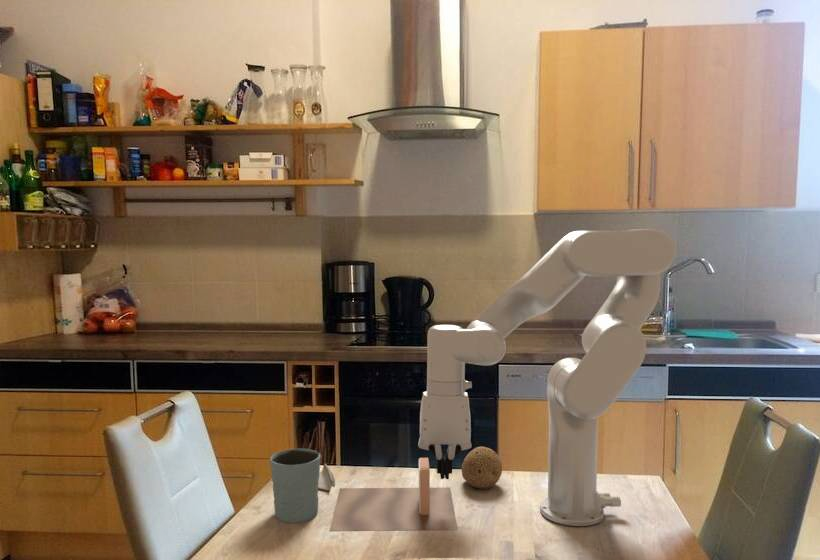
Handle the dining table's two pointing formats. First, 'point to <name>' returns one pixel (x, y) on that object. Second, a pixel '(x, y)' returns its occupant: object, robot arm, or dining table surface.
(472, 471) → the natural sponge
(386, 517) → the board
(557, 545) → the dining table surface
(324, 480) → the ceramic fragment
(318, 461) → the grey green cup
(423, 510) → the tile
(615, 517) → the dining table surface
